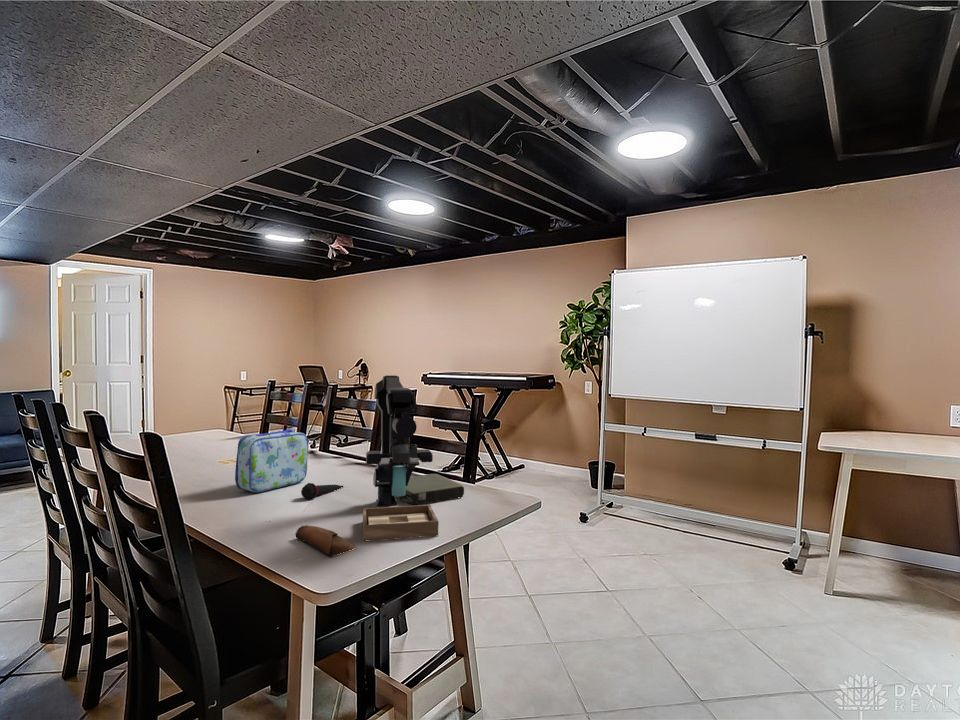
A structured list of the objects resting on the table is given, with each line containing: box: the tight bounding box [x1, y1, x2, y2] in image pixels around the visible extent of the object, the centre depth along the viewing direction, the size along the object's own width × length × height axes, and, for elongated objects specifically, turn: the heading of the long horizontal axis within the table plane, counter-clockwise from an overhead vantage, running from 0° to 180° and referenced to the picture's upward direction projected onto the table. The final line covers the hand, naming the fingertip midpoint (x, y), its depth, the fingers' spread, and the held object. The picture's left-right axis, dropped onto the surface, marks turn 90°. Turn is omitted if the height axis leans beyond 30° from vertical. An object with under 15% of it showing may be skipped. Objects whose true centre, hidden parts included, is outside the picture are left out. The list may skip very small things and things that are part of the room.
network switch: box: [395, 473, 465, 506], centre depth 178 cm, size 23×24×5 cm
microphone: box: [300, 482, 344, 500], centre depth 177 cm, size 6×6×20 cm
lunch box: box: [234, 429, 309, 493], centre depth 186 cm, size 26×11×21 cm, turn 149°
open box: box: [362, 504, 440, 542], centre depth 142 cm, size 16×20×4 cm
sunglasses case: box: [295, 525, 356, 557], centre depth 129 cm, size 18×7×7 cm
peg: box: [392, 465, 407, 498], centre depth 144 cm, size 4×4×8 cm
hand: (398, 486), depth 144 cm, fingers closed on peg, 4 cm apart
